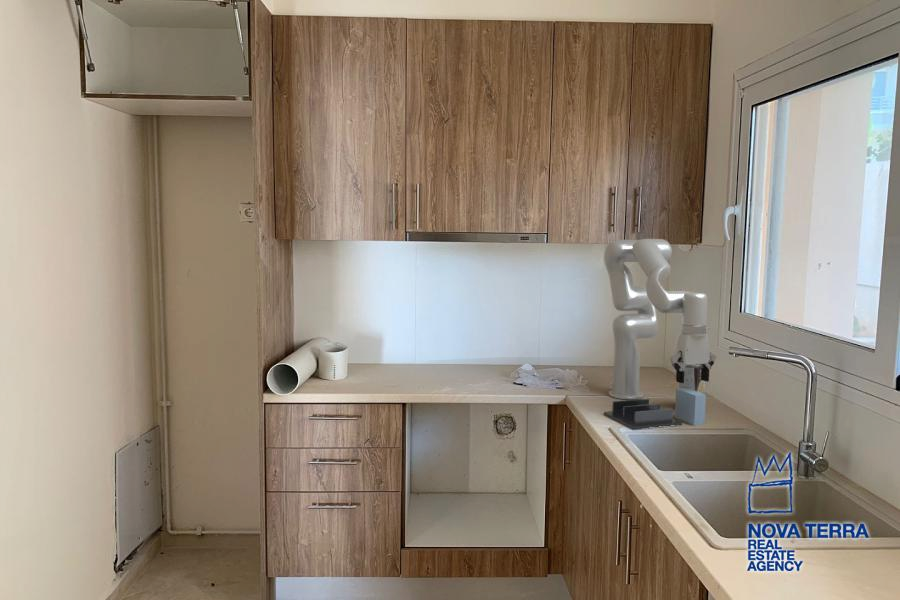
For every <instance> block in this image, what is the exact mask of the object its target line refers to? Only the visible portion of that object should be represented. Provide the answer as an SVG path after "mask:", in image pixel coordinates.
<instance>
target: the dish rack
mask: <svg viewBox="0 0 900 600" xmlns="http://www.w3.org/2000/svg"><path fill="white" fill-rule="evenodd" d="M611 405H612V408H611V409H612V410H611V411H603V415H604V416H605V417H608V418H610V419H612V420H613V421H616V422H617V423H619V424H621V425H622V426H625V427H627V428H629V429H631V430H636V431H637V430H643V429H642V428H648V429H650V428H649V427H659V426H671V425H675V426H674V427H677V426H676V425H683V422H682V421H681V420H677V419H675V418H674V408H665V409H662V408H661V407H662V406H661V405H662V404H661V403H651V404H650V398H640V399H625V400H615V401H613V400H612V404H611ZM671 427H672V426H671ZM659 428H660V427H659Z"/></svg>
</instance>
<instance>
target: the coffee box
mask: <svg viewBox="0 0 900 600" xmlns="http://www.w3.org/2000/svg"><path fill="white" fill-rule="evenodd" d="M701 368H703V367H702V365H686V366H685V368H684V369H683V371H684V383H679V382H678V388H688V389H691V390H694V391H697V392H700V393H702V394H705V391H706V381H703V380H701ZM705 395H706V394H705Z"/></svg>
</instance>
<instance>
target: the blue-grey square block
mask: <svg viewBox="0 0 900 600" xmlns="http://www.w3.org/2000/svg"><path fill="white" fill-rule="evenodd" d="M706 401H707V394H702V393H700V392H697V391H694V390H691V389H688V388H679V387H678V388H675V408H674V418H675V417H676V419H678V418H679V419H678V420H680V419H681V420H680V421H682V420H683V422H684V423H688V424H690V425H692V426H703V425H705V422H706V420H705V419H706V418H705V417H706V404H707V403H706Z"/></svg>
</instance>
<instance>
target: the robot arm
mask: <svg viewBox="0 0 900 600" xmlns="http://www.w3.org/2000/svg"><path fill="white" fill-rule="evenodd" d="M672 254H673V248H672V245H671V244H670V243H669V241H667V240H666V239H664V238H642V239H616V240H613V241H610V242H609V243H608V244H607V245H606V247H605V250H604V255H603V260H604V265H605V268H606V271H607V274H608V277H609V285H610V291H611V297H612V302H613V306H614V308H615V309H616V310H617V311H619V312H636V311H637V313H625V314H621V315H618V316H616V317H615V319H613V322H612V333H613V341H614V342H613V343H614V345H613V346H614V357H613V380H612V382H610V384H609V385H610V386H611V387H612V389H611V390H608V395H609V396H610V397H611V398H615V399H619V400H639V399H643V396H644V395H643V392H641V391H640V389H639V388H640V370H641V369H640V365H641V349H640V346H639V344H638V343H637V341H636V340H639V339H650V338H654V337H655V336H656V335H657V334H658V331H659V319H658V314H657V311H658V312H659V313H662V314H682V317H681V322H682V323H681V333H679V335H678V339H677V344H676V352H675V354H673V355H672V356H670V357H669V361H670V362H671V363H670V364H671V365H672V367H673V368H674V370H675V371H676V372H675V373H676V374H675V380H676V381H675V382H676V383H678V384H679V383H684V371H683V369H684V368H685V366H686V365H702V367H703V368H701V380H703V381H705V382H707V383H708V382H710V370H711V369H712V366H714V364H715V361H716V359H717V355H716V354H714V353H712V352H710V343H709V342H710V341H709V336H708V334H707V331H708V330H709V326H708V325H707V323H708V322H707V321H708V320H707V319H708V295H707V294H706V293H704V292H693V291H688V290H665V288H664V287H662V285H661V283H660V282H662V281H663V280H664V279H666V278H667V277H668V276H669V274H670V272H671V265H670V264H669V263H668V261H669V260H670V259H671V256H672ZM625 263H637V264H638V265H639V266H640V268H641V270H642V271H643V272H644V274H645V276H646V277H647V279H646V282H645V286H644V285H643V286H641V285H639V286H637V285H635V284H634V281H633V274H632V272H631V271H630V268H629V267H628V265H626V264H625Z"/></svg>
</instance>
